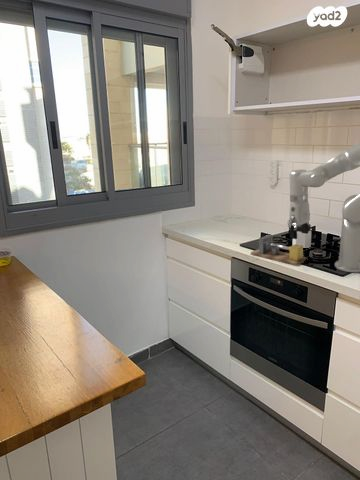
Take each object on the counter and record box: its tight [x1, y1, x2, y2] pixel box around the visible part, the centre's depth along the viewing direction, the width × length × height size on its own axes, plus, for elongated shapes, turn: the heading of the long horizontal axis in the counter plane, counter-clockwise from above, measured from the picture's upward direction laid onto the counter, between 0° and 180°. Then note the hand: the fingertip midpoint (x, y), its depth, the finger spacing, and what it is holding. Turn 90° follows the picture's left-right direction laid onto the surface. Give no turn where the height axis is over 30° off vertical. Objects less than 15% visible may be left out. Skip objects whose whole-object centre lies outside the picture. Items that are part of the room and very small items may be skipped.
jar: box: [291, 223, 312, 249], centre depth 182 cm, size 9×8×12 cm
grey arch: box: [258, 234, 274, 254], centre depth 175 cm, size 2×8×9 cm, turn 133°
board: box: [250, 248, 308, 267], centre depth 171 cm, size 25×10×1 cm, turn 43°
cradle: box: [272, 247, 280, 256], centre depth 172 cm, size 2×3×4 cm, turn 132°
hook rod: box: [270, 242, 304, 261], centre depth 168 cm, size 16×5×6 cm, turn 43°
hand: (299, 235), depth 161 cm, fingers open, 9 cm apart
